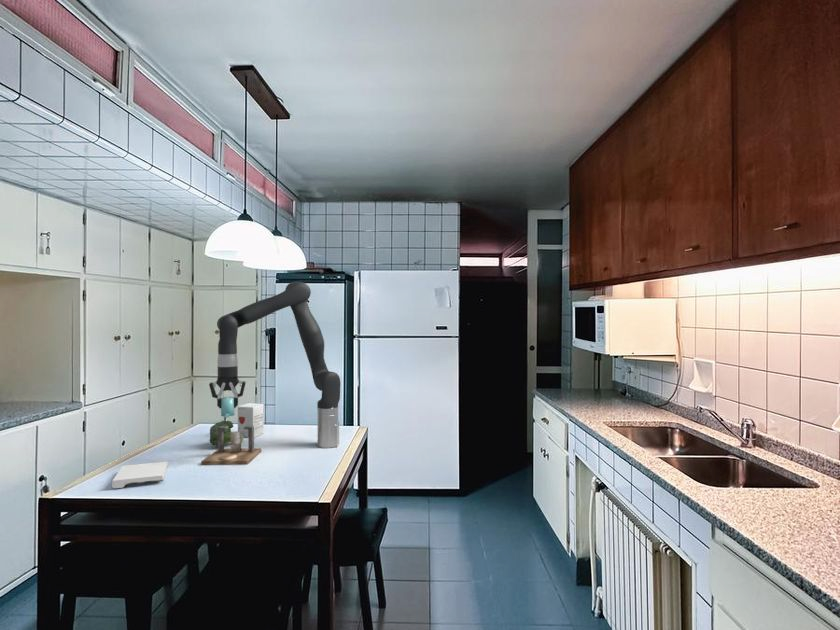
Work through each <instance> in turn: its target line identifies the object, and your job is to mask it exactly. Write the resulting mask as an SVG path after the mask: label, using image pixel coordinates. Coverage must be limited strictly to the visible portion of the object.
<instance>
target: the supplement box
mask: <svg viewBox="0 0 840 630" xmlns="http://www.w3.org/2000/svg"><path fill="white" fill-rule="evenodd" d="M264 406H265V404H264V403H255V402H254V403H250V402H248V403H245V404H240V405H238V406H237V432H241V436H243V438H247V439H248V429H244V427H245V426H254V438H257V437H259V436H261V435H263V434H264V431H265V429H264V419H265V418H264V417H265V415H264V410H265V409H264ZM264 435H265V434H264Z"/></svg>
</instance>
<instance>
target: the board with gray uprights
mask: <svg viewBox="0 0 840 630" xmlns="http://www.w3.org/2000/svg"><path fill="white" fill-rule="evenodd" d="M224 429H228V426H220V427H218V447H217V450H215V451H214V452H213V453H211V454H210V455H208V456H206V457H205V458H204V459H203V460H201V462H200V465H201V466H232V465H233V466H234V465H235V466H240V465H241V466H245V465H249V464H250V463H251V462H252V461H254V459H255V458H257V457H258V456H259V455H260V454H261V453H262V447H257V448H255V437H254V426H245V427H244V429H248V438H247V439H248V440H247V441H248V442H247V447H248V448H242V443H241V432H238V431H231V432H232V433H231V442H230V448H225V444H224Z"/></svg>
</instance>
